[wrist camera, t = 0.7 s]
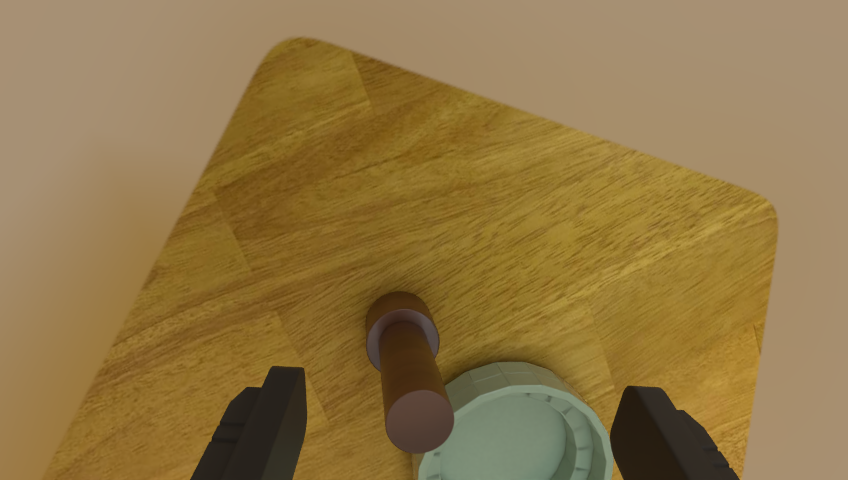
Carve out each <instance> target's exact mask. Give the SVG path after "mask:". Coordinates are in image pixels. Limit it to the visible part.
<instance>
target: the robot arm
mask: <svg viewBox="0 0 848 480" xmlns="http://www.w3.org/2000/svg"><path fill="white" fill-rule="evenodd" d="M306 424H307V402H306V385H305V371H304V368H302V367H283V366H272V367H271V369H270V370H269V372H268V375H267V377H266V379H265V381H264V384H263V386H262V388H259V387H246V388H245V389H244V390H243V391H242V392H241V393H240V394H239V395H238V396H237V397H235V398H234V399H233V400H232V401H231V402H230V403H229V405H228V407H227V409H226V411H225V413H224V415H223V417H222V419H221V421H220V425H219V426H218V427H217V429H216V431H215V432H214V434H213V436H212V441H211V442H209V444H208V446H207V448H206V450H205V452H204V454H203V456H202V458H201V460H200V462H199V464H198V466H197V467H196V469H195V471H194V473H193V475H192V477H191V479H190V480H292V479H293V475H294V472H295V468H296V465H297V461H298V458H299V454H300V451H301V448H302V444H303V441H304V437H305V431H306ZM610 444H611V450H612V453H613V456H614V459H615V461H616V463H617V466H618V468H619V470H620V472H621V475H622V477H623V479H624V480H740V479H739V478H738V476H737V475H736V473H735V472H734V470H733V469H732V468H729V463H728V462H727V460H726V459H725V457H724V456H723V455H722V453H721V452H720V451H718V450H717V448H718V447H717V446H716V445H715V443H714V442H713V440H712V439H711V437H710V436H709V434H708V433H707V432H706V430H705V429H704V427H702V426H701V425H700V424H699V423H698V422H697V421H695V420H694V419H693V418H692V417H691V416H690V415H688V414H687V413H686V412H685V411H684V410H676V408H675V407H674V405H673V403H672V402H671V400H670V399H669V397H668V396H667V394H666V393H665V392H664V390H663V389H661V388H659V387H643V386H627V387H626V388H625V390H624V392H623V395H622V398H621V401H620V404H619V407H618V410H617V413H616V416H615V419H614V422H613V425H612V428H611V433H610Z"/></svg>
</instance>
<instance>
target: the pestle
mask: <svg viewBox="0 0 848 480" xmlns="http://www.w3.org/2000/svg"><path fill="white" fill-rule="evenodd" d="M438 349H439V334H438V331H437V328H436V326H435V324H434V321H433V319H432V317H431V314H430V312H429V310H428V308H427V306H426V305H425V303H424V302H423V301H422V300H421V299H420V298H418V297H417V296H415V295H413V294H411V293H407V292H392V293H388V294H386V295H384V296H382V297H380V298H379V299H377V300H376V301H375V302H374V303H373V305H372V306H371V307H370V309H369V311H368V314H367V317H366V351H367V355H368V357H369V360H370V361H371V363H372V364H373V366H374V367H375V368H376V369H377V370H379V371H380V372H381V380H382V392H383V404H384V415H385V427H386V432H387V435H388V437H389V439H390V440H391V442H392V443H393V444H394V445H395V446H396V447H398V448H399V449H401V450H403V451H405V452H408V453H414V454H421V453H426V452H430V451H432V450H434V449H436V448H438V447H439V446H441V445H442V444H443V443H444V442H445V441H446V440H447V439H448V437H449V436H450V434H451V432H452V429H453V426H454V412H453V409H452V406H451V403H450V400H449V398H448V395H447V392H446V389H445V386H444V384H443V381H442V378H441V375H440V372H439V370H438V367H437V364H436V361H435V357H436V355H437V353H438Z"/></svg>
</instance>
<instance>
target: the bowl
mask: <svg viewBox="0 0 848 480" xmlns="http://www.w3.org/2000/svg"><path fill="white" fill-rule="evenodd" d="M445 389H446V392H447V395H448V398H449V400H450V403H451V406H452V409H453V412H454V426H453V429H452V432H451V434H450V436H449V437H448V439H447V440H446V441H445V442H444V443H443V444H442V445H441V446H439V447H438V448H436V449H434V450H432V451H430V452H426V453H421V454H414V453H412V461H411V464H412V471H413V477H414V480H611V478H612V470H613V463H614V461H613V460H614V459H613V454H612V450H611V445H610V440H609V435H608V432H607V431H606V429H605V428H604V426H603V424H602V423H601V421H600V420H599V418H598V416H597V415H596V413H595V412H594V410H593V409H592V408H591V407H590V406H589V405H588V404H587V403H586V402H585V401H584V400H583V398H582V397H581V396H580V395H579V394H578V393H577V392H576V391H575V390H574V389H573V387H572V386H571V385H570V384H568V383H567V382H566V381H564V380H563V379H562V378H560V377H559V376H558V375H556V374H555V373H554V372H552V371H551V370H548V369H545V368H542V367H539V366H536V365H533V364H529V363H526V362H496V363H491V364H488V365H485V366H482V367H479V368H476V369H472V370H469V371H468V372H467V371H466V372H465V373H463V374H462V375H460V376H459V377H457V378H456V379H454V380H453V381H451V382H450V383H448V384H447V385H445Z"/></svg>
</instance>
